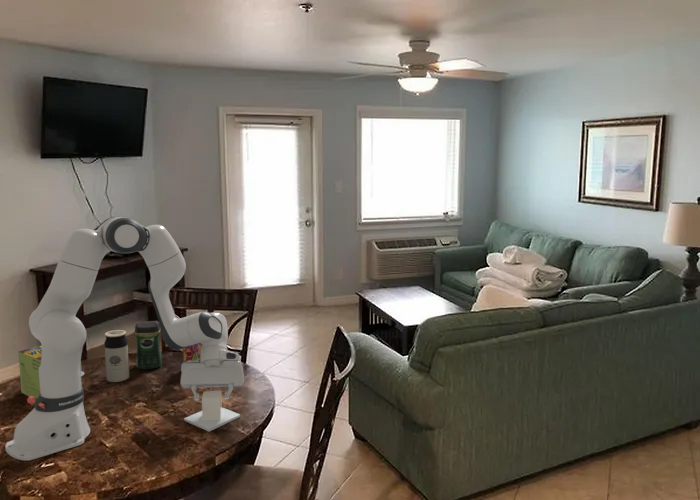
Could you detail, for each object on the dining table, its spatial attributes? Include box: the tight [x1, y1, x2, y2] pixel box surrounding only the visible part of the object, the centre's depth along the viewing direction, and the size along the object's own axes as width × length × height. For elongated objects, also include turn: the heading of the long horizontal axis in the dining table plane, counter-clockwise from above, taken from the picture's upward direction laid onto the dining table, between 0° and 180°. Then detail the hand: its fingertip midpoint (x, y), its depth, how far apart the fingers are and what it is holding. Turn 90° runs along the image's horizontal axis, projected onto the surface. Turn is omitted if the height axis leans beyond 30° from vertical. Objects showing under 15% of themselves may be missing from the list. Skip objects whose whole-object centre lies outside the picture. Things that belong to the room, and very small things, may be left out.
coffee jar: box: [134, 320, 163, 370], centre depth 231 cm, size 10×8×19 cm
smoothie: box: [182, 343, 202, 363], centre depth 228 cm, size 8×8×20 cm
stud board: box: [183, 407, 241, 432], centre depth 187 cm, size 13×12×6 cm
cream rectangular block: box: [201, 390, 223, 421], centre depth 187 cm, size 6×6×8 cm
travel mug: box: [104, 329, 130, 383], centre depth 218 cm, size 8×8×18 cm
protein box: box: [18, 345, 42, 399], centre depth 204 cm, size 10×15×16 cm
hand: (211, 399), depth 186 cm, fingers open, 8 cm apart
